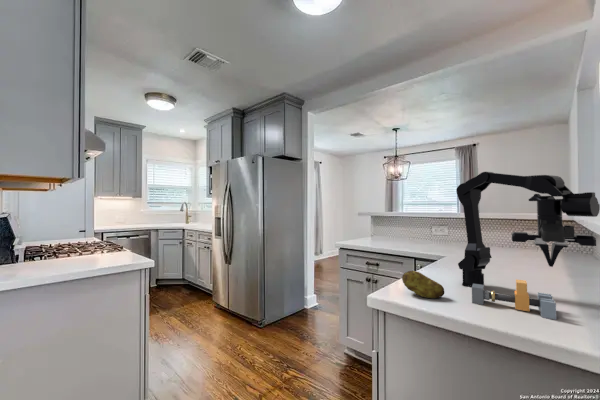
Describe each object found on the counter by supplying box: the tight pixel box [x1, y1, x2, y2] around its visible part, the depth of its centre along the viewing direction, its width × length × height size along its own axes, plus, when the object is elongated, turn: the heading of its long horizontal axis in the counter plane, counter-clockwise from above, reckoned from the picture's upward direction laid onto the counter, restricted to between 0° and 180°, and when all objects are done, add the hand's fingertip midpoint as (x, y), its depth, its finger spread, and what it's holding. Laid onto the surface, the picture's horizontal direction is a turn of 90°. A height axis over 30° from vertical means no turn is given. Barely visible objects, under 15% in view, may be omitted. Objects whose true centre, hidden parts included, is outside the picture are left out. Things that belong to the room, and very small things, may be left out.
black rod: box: [489, 291, 540, 308], centre depth 84 cm, size 14×2×2 cm, turn 54°
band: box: [490, 290, 496, 303], centre depth 86 cm, size 1×3×3 cm, turn 144°
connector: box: [471, 284, 490, 306], centre depth 88 cm, size 4×5×5 cm
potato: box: [401, 270, 445, 299], centre depth 95 cm, size 8×13×8 cm, turn 39°
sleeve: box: [514, 278, 531, 312], centre depth 82 cm, size 3×4×8 cm
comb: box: [537, 291, 557, 321], centre depth 79 cm, size 3×9×4 cm, turn 144°
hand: (550, 266), depth 84 cm, fingers closed
